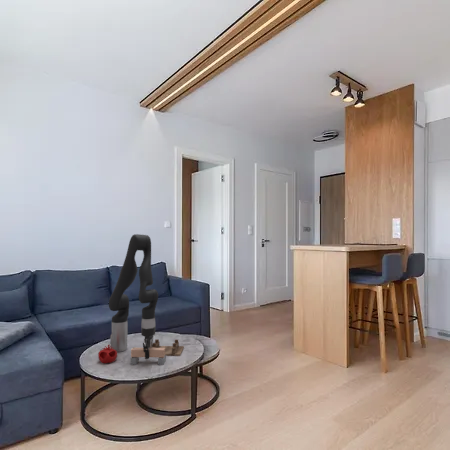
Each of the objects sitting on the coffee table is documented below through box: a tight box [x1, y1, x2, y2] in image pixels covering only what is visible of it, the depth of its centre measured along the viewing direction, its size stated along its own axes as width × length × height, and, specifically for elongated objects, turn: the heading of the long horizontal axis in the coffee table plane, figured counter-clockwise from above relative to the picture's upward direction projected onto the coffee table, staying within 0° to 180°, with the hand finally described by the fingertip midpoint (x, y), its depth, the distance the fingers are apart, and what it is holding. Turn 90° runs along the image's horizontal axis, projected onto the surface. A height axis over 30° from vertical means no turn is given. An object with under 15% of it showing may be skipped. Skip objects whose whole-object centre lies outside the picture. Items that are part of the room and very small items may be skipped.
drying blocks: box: [130, 355, 167, 366], centre depth 186 cm, size 18×6×3 cm, turn 88°
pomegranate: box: [97, 344, 118, 364], centre depth 188 cm, size 10×10×9 cm
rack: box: [152, 338, 185, 357], centre depth 203 cm, size 20×14×6 cm
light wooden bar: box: [130, 347, 165, 358], centre depth 187 cm, size 18×4×4 cm, turn 88°
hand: (148, 357), depth 186 cm, fingers closed on light wooden bar, 3 cm apart
